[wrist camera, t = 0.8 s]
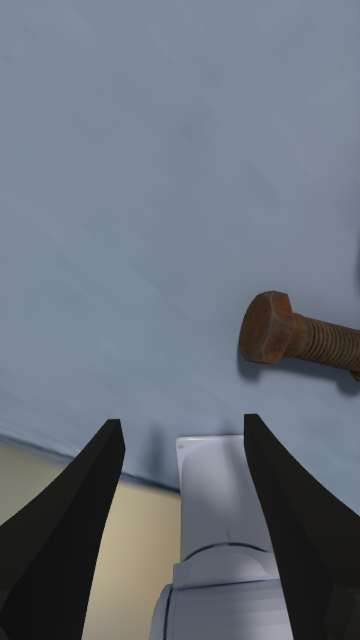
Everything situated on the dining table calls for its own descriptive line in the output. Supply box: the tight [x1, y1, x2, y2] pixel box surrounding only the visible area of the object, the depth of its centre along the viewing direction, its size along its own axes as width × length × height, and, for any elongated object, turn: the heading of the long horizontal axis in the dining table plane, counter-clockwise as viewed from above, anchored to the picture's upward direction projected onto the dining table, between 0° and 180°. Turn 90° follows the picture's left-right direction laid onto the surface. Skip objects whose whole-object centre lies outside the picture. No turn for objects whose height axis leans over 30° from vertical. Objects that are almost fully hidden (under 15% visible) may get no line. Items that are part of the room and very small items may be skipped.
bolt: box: [239, 291, 360, 381], centre depth 18 cm, size 6×5×15 cm
